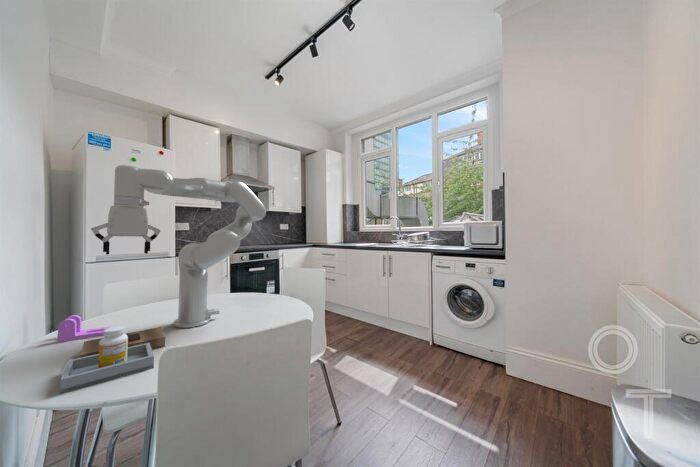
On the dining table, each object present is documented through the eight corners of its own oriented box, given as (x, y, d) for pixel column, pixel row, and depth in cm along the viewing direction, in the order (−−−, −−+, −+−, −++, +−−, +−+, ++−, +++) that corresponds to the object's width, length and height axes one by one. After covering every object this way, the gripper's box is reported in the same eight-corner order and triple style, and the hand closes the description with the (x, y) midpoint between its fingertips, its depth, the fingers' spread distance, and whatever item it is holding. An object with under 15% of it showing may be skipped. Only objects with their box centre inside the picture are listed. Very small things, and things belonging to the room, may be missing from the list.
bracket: (57, 342, 78) (58, 320, 78) (65, 336, 83) (65, 315, 83) (113, 334, 85) (113, 314, 85) (117, 329, 90) (118, 310, 90)
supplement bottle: (105, 362, 65) (106, 326, 65) (130, 359, 67) (132, 323, 67) (93, 373, 60) (94, 333, 60) (121, 369, 62) (122, 331, 62)
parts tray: (149, 352, 72) (149, 342, 73) (153, 367, 65) (153, 356, 65) (67, 372, 61) (67, 360, 61) (60, 393, 53) (60, 379, 54)
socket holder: (160, 335, 85) (160, 326, 85) (165, 346, 77) (165, 336, 77) (83, 351, 72) (84, 341, 72) (79, 366, 64) (80, 355, 64)
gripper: (159, 206, 92) (158, 252, 91) (92, 201, 80) (91, 253, 79) (162, 205, 86) (161, 253, 86) (91, 199, 74) (89, 255, 74)
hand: (127, 253), depth 83 cm, fingers open, 9 cm apart
